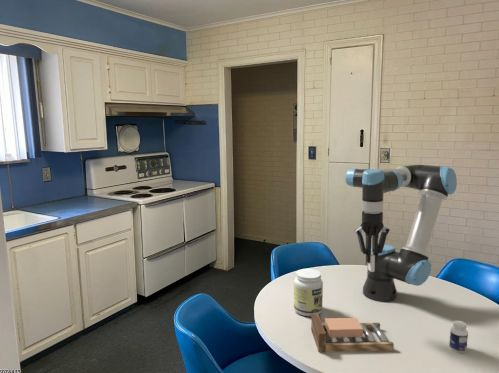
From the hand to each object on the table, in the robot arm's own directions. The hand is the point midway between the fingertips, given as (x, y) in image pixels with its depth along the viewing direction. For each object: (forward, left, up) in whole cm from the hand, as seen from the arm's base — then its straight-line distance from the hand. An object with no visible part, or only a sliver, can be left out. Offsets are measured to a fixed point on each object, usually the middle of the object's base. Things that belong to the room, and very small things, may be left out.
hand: (371, 270), depth 146 cm
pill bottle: (-26, +17, -23) cm, 39 cm away
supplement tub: (+22, -13, -23) cm, 35 cm away
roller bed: (+8, +10, -22) cm, 25 cm away
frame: (+9, +10, -23) cm, 27 cm away
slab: (+13, +10, -20) cm, 25 cm away
